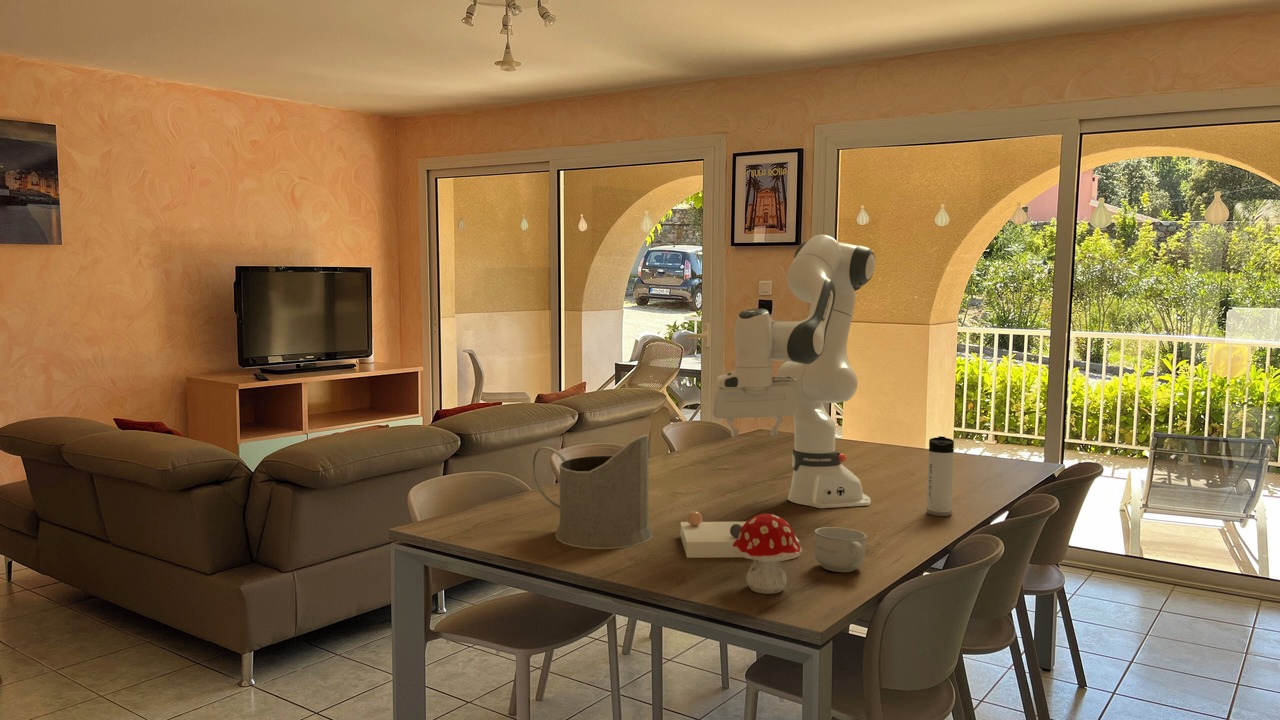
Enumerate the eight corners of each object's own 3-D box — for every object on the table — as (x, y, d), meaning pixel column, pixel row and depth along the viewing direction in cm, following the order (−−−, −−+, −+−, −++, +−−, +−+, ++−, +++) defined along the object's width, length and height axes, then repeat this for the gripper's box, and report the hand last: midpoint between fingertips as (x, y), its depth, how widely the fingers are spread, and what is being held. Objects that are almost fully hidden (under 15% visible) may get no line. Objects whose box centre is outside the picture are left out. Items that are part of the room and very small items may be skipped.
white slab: (784, 535, 221) (784, 521, 220) (799, 556, 204) (799, 541, 203) (680, 536, 220) (680, 522, 219) (686, 557, 203) (686, 542, 202)
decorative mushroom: (776, 606, 173) (777, 528, 171) (717, 589, 182) (717, 515, 181) (815, 588, 183) (816, 514, 182) (757, 573, 192) (758, 502, 191)
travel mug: (951, 511, 244) (954, 436, 243) (951, 517, 238) (954, 441, 236) (927, 509, 246) (929, 435, 245) (926, 515, 240) (928, 439, 238)
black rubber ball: (742, 535, 208) (742, 522, 208) (744, 539, 205) (744, 526, 205) (729, 535, 208) (729, 522, 208) (730, 539, 205) (730, 526, 205)
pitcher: (625, 554, 206) (625, 443, 204) (507, 536, 219) (505, 433, 217) (667, 529, 226) (668, 428, 224) (557, 514, 240) (556, 420, 238)
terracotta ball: (701, 523, 218) (701, 509, 218) (702, 527, 214) (702, 513, 214) (686, 523, 218) (686, 509, 217) (687, 527, 214) (687, 513, 214)
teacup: (808, 561, 200) (808, 525, 200) (856, 560, 201) (857, 524, 201) (826, 582, 187) (827, 543, 186) (878, 580, 188) (879, 542, 187)
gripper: (794, 374, 221) (795, 431, 222) (709, 377, 220) (711, 434, 222) (800, 378, 215) (800, 436, 216) (713, 381, 214) (714, 439, 215)
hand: (754, 435), depth 219 cm, fingers open, 8 cm apart
